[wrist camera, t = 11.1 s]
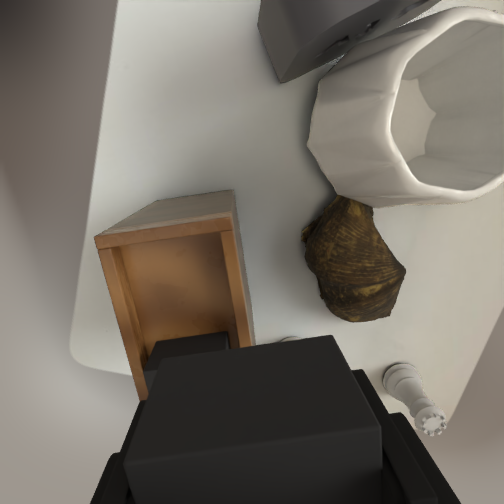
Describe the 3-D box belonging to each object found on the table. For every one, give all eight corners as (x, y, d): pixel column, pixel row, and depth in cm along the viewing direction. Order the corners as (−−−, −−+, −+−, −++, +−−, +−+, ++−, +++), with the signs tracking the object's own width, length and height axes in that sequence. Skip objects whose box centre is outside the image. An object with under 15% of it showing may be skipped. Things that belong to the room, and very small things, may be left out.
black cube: (332, 333, 10) (383, 427, 6) (342, 467, 11) (387, 602, 8) (160, 357, 10) (121, 464, 6) (192, 489, 11) (172, 633, 8)
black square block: (238, 390, 25) (238, 427, 21) (170, 400, 25) (160, 439, 21) (227, 330, 23) (225, 359, 20) (155, 340, 23) (142, 372, 20)
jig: (252, 312, 39) (262, 414, 24) (182, 322, 39) (147, 431, 24) (233, 189, 35) (231, 216, 20) (155, 200, 35) (93, 236, 20)
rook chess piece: (406, 395, 43) (443, 448, 36) (375, 386, 43) (405, 437, 35) (423, 366, 42) (464, 414, 34) (391, 357, 42) (426, 403, 34)
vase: (288, 189, 35) (324, 214, 21) (316, 36, 31) (385, -66, 17) (416, 209, 36) (536, 246, 22) (458, 64, 33) (638, -8, 18)
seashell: (408, 306, 39) (426, 343, 33) (331, 322, 42) (334, 360, 35) (373, 169, 34) (387, 181, 28) (288, 197, 37) (283, 214, 30)
